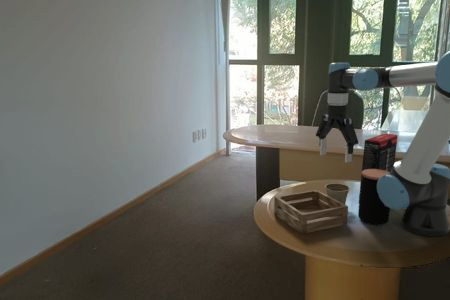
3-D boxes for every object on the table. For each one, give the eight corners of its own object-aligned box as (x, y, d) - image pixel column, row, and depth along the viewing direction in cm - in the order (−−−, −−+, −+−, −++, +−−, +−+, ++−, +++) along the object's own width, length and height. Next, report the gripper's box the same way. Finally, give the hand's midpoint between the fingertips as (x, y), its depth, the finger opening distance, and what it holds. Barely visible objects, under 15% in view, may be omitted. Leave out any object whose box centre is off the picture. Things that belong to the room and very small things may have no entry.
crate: (346, 224, 142) (348, 206, 140) (301, 234, 135) (302, 215, 133) (315, 206, 159) (316, 189, 157) (274, 213, 152) (274, 196, 150)
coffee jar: (387, 228, 139) (392, 179, 134) (356, 223, 143) (359, 175, 138) (389, 216, 148) (394, 170, 143) (359, 212, 152) (363, 167, 148)
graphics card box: (376, 193, 171) (381, 132, 165) (392, 197, 167) (398, 134, 160) (357, 204, 160) (362, 139, 153) (374, 209, 155) (380, 141, 148)
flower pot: (322, 210, 154) (324, 189, 152) (325, 202, 163) (326, 182, 161) (348, 213, 151) (349, 192, 149) (348, 204, 160) (350, 184, 158)
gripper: (370, 106, 142) (367, 163, 147) (322, 100, 163) (320, 150, 168) (355, 108, 138) (352, 166, 143) (308, 101, 159) (306, 153, 164)
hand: (335, 158), depth 155 cm, fingers open, 13 cm apart
